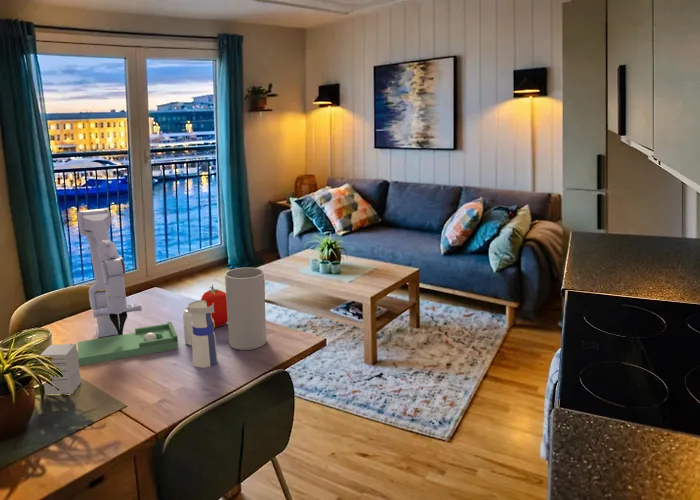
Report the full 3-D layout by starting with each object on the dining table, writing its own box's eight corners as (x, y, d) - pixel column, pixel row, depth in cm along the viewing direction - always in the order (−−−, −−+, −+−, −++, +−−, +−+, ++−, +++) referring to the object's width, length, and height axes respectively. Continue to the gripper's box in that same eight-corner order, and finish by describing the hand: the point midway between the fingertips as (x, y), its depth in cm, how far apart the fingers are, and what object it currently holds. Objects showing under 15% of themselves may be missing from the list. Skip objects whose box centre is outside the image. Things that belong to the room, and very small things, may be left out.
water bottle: (204, 353, 183) (199, 280, 177) (224, 359, 179) (219, 284, 173) (185, 363, 176) (179, 287, 170) (205, 369, 172) (200, 292, 166)
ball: (143, 335, 192) (151, 328, 192) (151, 343, 193) (160, 336, 193) (140, 340, 188) (148, 333, 188) (148, 348, 189) (157, 341, 189)
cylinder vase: (221, 343, 191) (217, 273, 185) (251, 333, 200) (248, 265, 194) (244, 354, 183) (240, 280, 177) (274, 342, 192) (271, 272, 185)
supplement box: (55, 384, 164) (49, 344, 160) (82, 383, 164) (76, 343, 161) (44, 397, 156) (38, 355, 153) (72, 395, 157) (66, 354, 154)
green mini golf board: (78, 348, 187) (77, 336, 186) (172, 333, 200) (171, 321, 199) (79, 365, 175) (77, 352, 174) (178, 348, 188) (177, 335, 186)
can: (200, 346, 189) (197, 313, 186) (181, 345, 190) (179, 311, 187) (207, 338, 195) (205, 306, 192) (189, 337, 196) (187, 305, 193)
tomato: (219, 317, 215) (217, 282, 211) (240, 324, 208) (238, 287, 205) (193, 328, 205) (190, 291, 201) (214, 335, 198) (211, 297, 195)
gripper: (91, 302, 175) (96, 342, 179) (141, 295, 181) (144, 334, 185) (91, 295, 182) (96, 334, 185) (138, 289, 188) (142, 327, 191)
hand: (120, 334), depth 185 cm, fingers closed
